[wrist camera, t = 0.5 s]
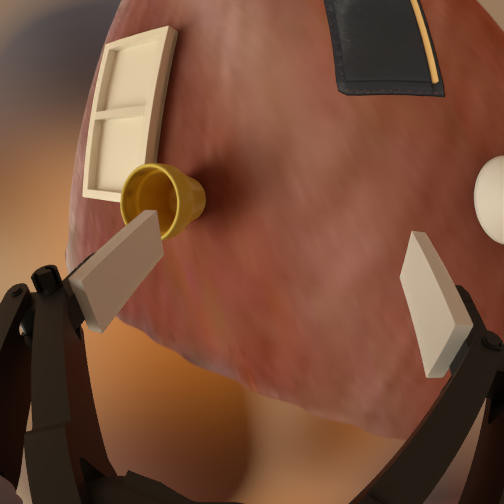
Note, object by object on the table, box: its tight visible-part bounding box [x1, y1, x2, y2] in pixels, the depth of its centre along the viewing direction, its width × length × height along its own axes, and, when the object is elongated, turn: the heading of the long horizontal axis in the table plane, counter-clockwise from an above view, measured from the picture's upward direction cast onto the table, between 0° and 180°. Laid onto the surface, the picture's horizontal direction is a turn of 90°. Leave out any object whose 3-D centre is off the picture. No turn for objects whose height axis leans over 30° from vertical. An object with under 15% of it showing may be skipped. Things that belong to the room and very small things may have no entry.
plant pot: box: [120, 163, 206, 241], centre depth 41 cm, size 10×10×10 cm
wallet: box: [324, 0, 445, 97], centre depth 30 cm, size 20×2×15 cm
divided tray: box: [83, 26, 179, 202], centre depth 46 cm, size 31×16×3 cm, turn 173°
